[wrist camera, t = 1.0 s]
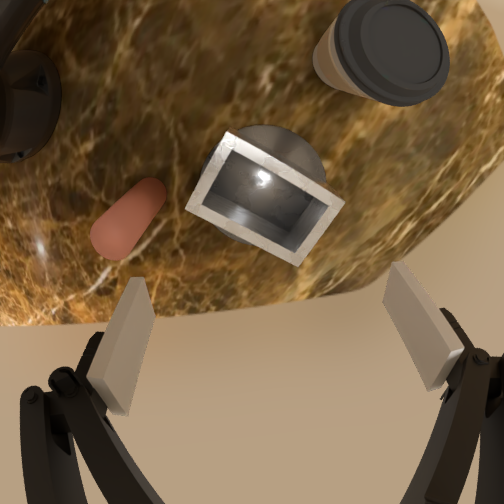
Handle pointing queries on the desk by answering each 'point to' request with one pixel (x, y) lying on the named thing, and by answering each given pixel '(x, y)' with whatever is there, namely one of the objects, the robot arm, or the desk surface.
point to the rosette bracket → (266, 191)
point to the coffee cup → (383, 52)
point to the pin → (128, 219)
